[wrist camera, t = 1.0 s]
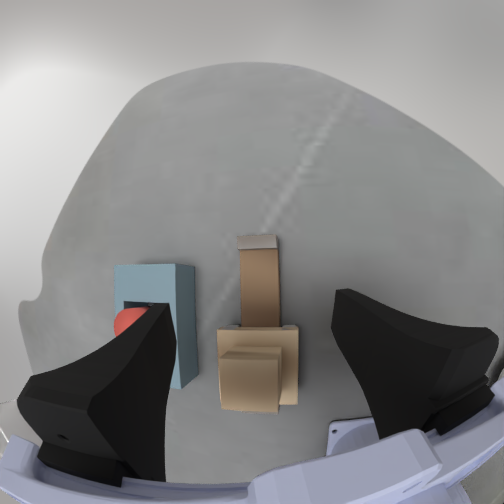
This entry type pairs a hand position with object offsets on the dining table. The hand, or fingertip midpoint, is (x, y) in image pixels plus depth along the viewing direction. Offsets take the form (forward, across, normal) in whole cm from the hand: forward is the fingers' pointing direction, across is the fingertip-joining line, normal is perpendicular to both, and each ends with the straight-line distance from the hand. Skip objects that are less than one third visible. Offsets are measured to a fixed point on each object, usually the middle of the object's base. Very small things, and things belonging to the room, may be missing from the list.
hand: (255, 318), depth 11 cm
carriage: (+8, -1, +10) cm, 13 cm away
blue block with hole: (+12, +7, +8) cm, 16 cm away
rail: (+9, -2, +7) cm, 12 cm away
